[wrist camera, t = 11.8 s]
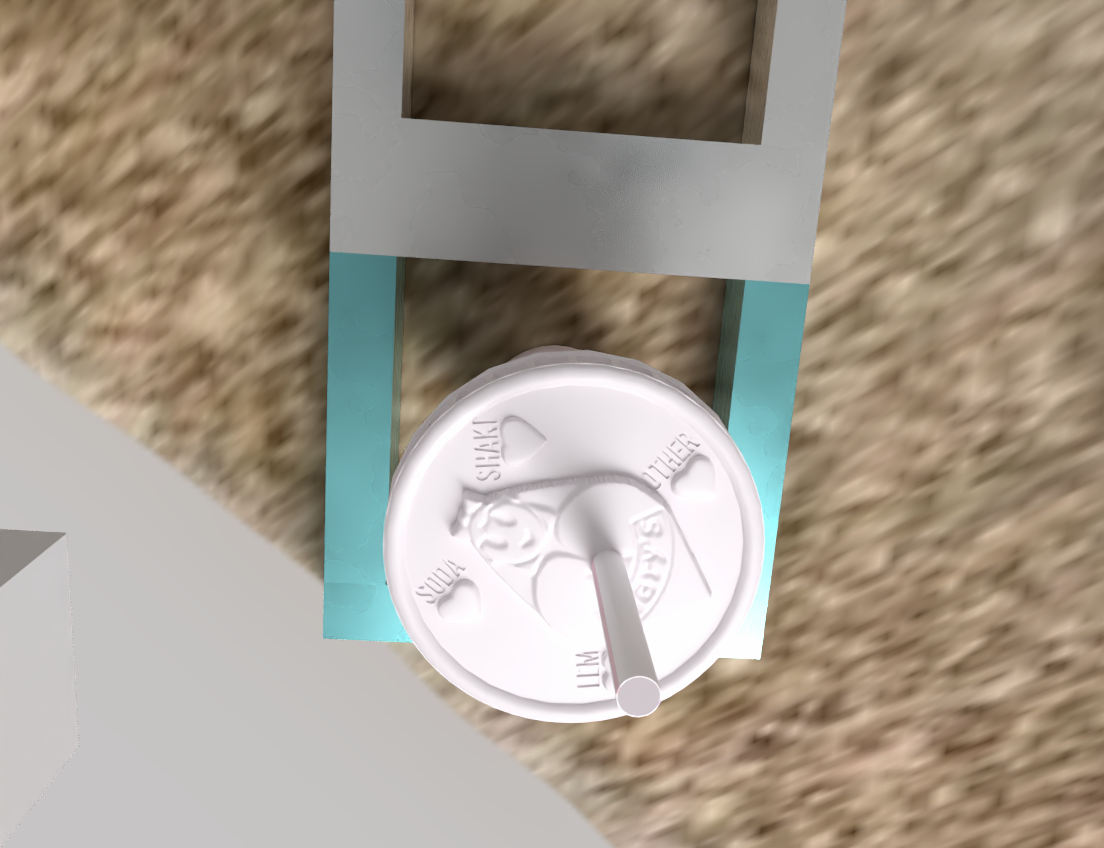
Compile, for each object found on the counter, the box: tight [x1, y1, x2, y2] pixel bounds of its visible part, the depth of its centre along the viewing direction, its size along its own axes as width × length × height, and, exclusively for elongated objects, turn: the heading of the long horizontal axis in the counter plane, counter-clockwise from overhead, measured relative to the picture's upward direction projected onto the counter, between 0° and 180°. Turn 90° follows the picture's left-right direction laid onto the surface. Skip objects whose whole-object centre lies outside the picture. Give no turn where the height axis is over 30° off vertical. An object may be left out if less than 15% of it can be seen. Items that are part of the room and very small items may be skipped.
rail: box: [323, 0, 847, 659], centre depth 23 cm, size 22×11×2 cm, turn 176°
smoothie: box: [383, 345, 765, 723], centre depth 19 cm, size 6×6×14 cm
